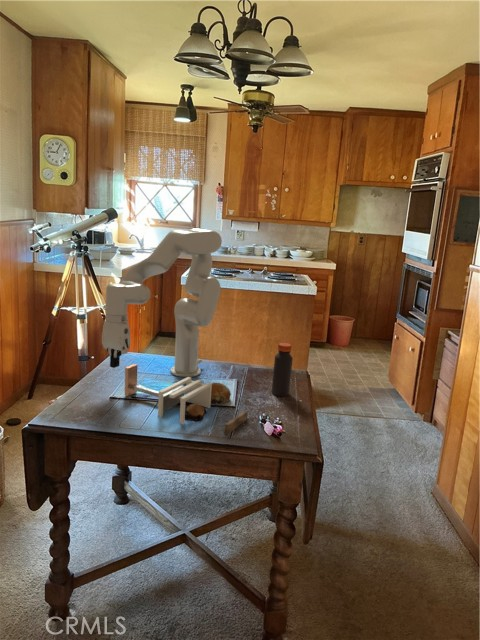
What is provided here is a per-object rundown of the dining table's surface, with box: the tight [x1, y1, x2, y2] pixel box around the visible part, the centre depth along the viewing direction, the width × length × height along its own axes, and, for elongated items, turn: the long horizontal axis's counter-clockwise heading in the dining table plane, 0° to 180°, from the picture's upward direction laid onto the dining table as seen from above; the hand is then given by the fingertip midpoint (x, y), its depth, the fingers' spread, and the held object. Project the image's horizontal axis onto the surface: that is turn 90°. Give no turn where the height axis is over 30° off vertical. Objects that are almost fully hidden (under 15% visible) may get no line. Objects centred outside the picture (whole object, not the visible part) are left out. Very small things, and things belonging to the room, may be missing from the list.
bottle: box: [271, 342, 293, 398], centre depth 183 cm, size 7×7×20 cm
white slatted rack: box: [157, 377, 212, 425], centre depth 162 cm, size 17×10×9 cm, turn 152°
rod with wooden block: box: [124, 363, 186, 413], centre depth 169 cm, size 13×20×11 cm, turn 62°
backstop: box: [223, 410, 248, 435], centre depth 155 cm, size 13×1×3 cm, turn 152°
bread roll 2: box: [211, 382, 232, 405], centre depth 175 cm, size 10×10×8 cm
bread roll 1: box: [185, 403, 208, 422], centre depth 161 cm, size 11×8×4 cm
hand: (114, 366), depth 175 cm, fingers closed
